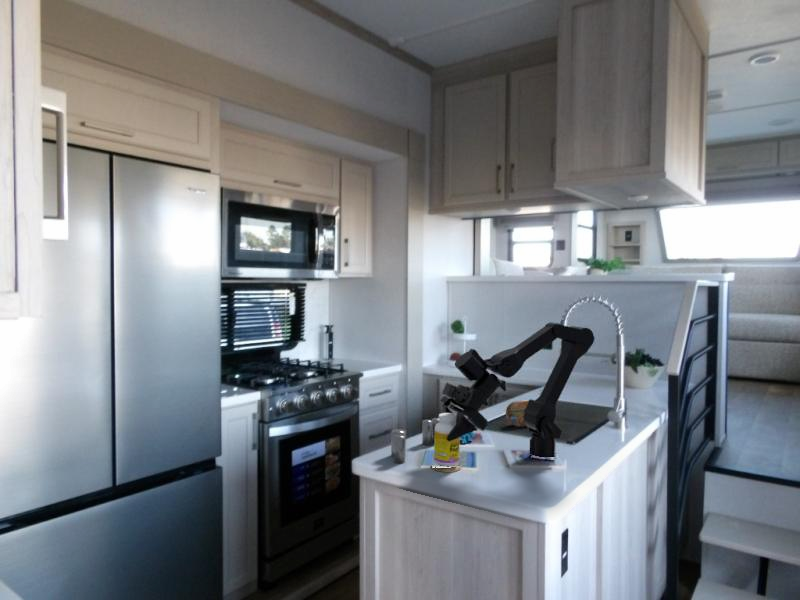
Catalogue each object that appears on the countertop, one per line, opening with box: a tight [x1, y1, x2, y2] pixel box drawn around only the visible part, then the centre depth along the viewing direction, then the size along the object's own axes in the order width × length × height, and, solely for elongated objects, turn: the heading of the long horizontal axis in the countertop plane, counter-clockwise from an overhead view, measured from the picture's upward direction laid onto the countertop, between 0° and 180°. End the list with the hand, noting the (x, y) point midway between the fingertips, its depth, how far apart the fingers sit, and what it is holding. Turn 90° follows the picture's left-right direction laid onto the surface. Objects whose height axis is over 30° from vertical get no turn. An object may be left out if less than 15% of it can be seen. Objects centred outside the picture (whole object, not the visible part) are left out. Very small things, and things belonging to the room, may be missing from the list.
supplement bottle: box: [433, 412, 461, 467], centre depth 151 cm, size 7×7×13 cm
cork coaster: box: [431, 464, 462, 473], centre depth 151 cm, size 8×8×1 cm
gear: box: [457, 417, 476, 444], centre depth 177 cm, size 11×6×10 cm
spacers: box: [390, 417, 439, 464], centre depth 165 cm, size 10×24×7 cm, turn 159°
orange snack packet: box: [505, 399, 536, 428], centre depth 196 cm, size 15×3×8 cm, turn 114°
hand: (442, 436), depth 150 cm, fingers closed on supplement bottle, 6 cm apart
